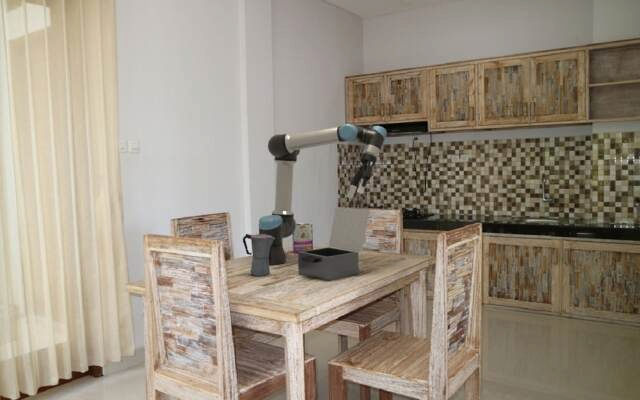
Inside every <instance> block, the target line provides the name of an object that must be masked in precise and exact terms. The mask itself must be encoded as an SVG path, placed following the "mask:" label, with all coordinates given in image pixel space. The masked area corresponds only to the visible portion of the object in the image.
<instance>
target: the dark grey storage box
mask: <svg viewBox="0 0 640 400" xmlns="http://www.w3.org/2000/svg"><path fill="white" fill-rule="evenodd" d="M297 260H298V265H297V266H298V267H297V268H298V275H301V276H305V277H308V278H313V279H317V280H321V281H325V282H331V281H335V280H336V281H337V280H340V279H345V278H349V277H353V276H354V277H355V276H359V275H360V273H359V252H358V251H352V250H346V249H340V248H334V247H329V246H328V247H322V248H317V249H316V248H315V249H314V248H313V250H307V251H301V252H298V253H297Z"/></svg>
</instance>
